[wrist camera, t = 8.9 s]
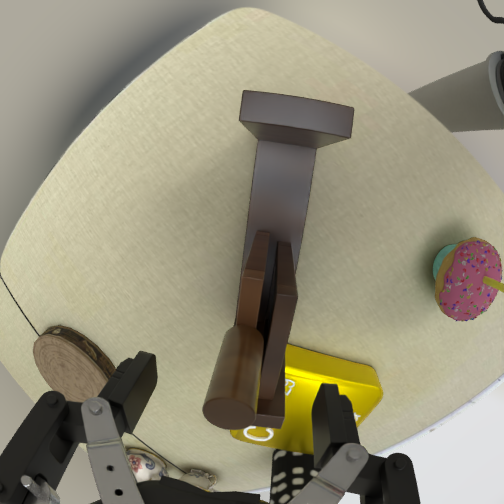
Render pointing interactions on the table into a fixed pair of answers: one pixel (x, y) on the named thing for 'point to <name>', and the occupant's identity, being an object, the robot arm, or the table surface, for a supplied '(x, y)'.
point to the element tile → (304, 392)
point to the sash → (240, 351)
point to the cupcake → (467, 278)
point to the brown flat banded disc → (72, 363)
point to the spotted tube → (290, 475)
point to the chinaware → (154, 468)
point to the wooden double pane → (283, 217)
